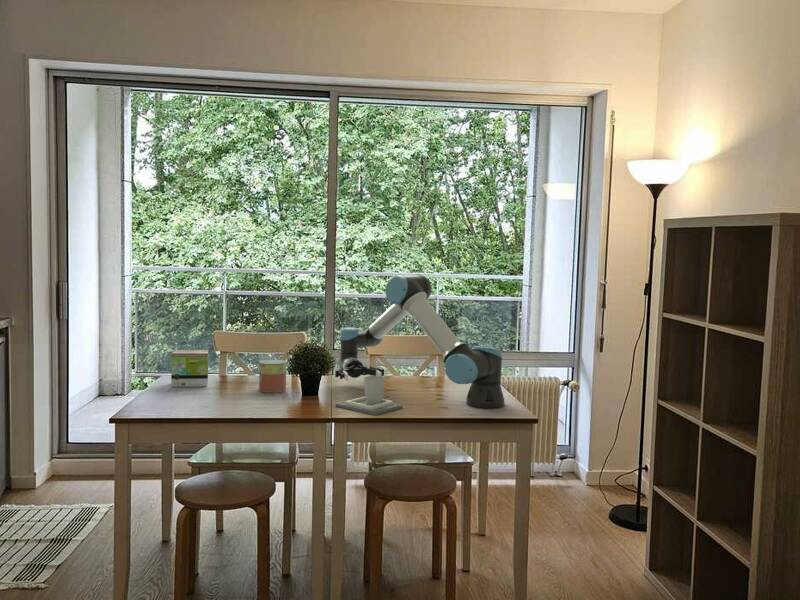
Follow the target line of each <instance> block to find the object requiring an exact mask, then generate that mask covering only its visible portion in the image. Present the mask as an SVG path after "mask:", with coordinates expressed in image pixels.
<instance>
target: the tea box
mask: <svg viewBox="0 0 800 600" xmlns="http://www.w3.org/2000/svg"><path fill="white" fill-rule="evenodd" d="M170 370H171V371H170V372H171V373H170V375H171V376H170V379H171V380H170V381H171V382H170V384H171V385H170V386H171V388H176V387H178V388H182V387H184V388H185V387H188V388H189V387H193V388H195V387H197V388H199V387H200V388H201V387H202V386H207V387H208V381H209V349H173V350H172V353H171V369H170ZM202 388H203V387H202Z"/></svg>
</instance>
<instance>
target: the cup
mask: <svg viewBox="0 0 800 600" xmlns="http://www.w3.org/2000/svg"><path fill="white" fill-rule="evenodd" d="M385 383H386V378H385V377H384V376H382V377H381V376H374V375H366V376H364V377H363V386H364V387H363V389H364V394H365V396H366V400H367V404H369V405H376V404H380V403H381V400H382V399H383V397H384V390H385ZM365 396H364V397H365Z"/></svg>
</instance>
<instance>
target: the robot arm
mask: <svg viewBox="0 0 800 600" xmlns="http://www.w3.org/2000/svg"><path fill="white" fill-rule="evenodd" d="M432 290H433V289H432V282H431V281H430V280H429V279H428V278H427V276H425V275H424V274H419V273H413V274H403V273H402V274H397V275H392V276H391V277H390V278H389V279H388V280H387V282H386V284H385V298H386V299H387V301H388V302H389V303H390V304H391V305H390V306H389V307H388V308H387V310H385V311H384V312H383V313H382V314H381V315H380V316H378V318H376V320H375V321H374V322H372V324H370V326H368V327H367V328H366V329H365V330H359V329H358V328H357V327H349V326H348V327H343V328H341V331H340V357H339V359H338V365H339V368H338V369H336V370H335V371H334V376H335V378H339V380H345V381H346V382H349V377H350V378H351V379H356V378H359V377H361V376H381V377H384V376H385V369H383V368H379V367H375V366H372V365H369V366H368V367H367V366H364V364H363V363H362V362H361V361H360V360H359V358H358V355H359V354H358V353H359V351H358V350H359V349H362V348H370V347H371V348H372V347H376V346H379V345H380V344H381V343H382V341H383V337H385V335H387V333H389V332H390V331H391V330H392V329H393V328H395V326H397V325H398V324H399V323H400V322H401V321H402V320H403V319H404V318H405V317H407V316H408V315H409V314H410V315H411V317H412V318H413V319H414V321H415V322H416V323H417V324H418V326H419V327H420V328H421V330H422V331H423V332H424V333H425V335H426V336H427V337H428V338H429V340H430V341H431V342H432V344H434V346H435V347H436V349H437V350H438V351H439V352H440V353H441V355H442V356H443V358H442V362H443V363H444V368H445V370H444V373H445V375H446V376H447V378H448V379H449V380H450V381H451V382H453V383H454V384H457V385H469V384H470V386H469V389H468V392H467V395H466V398H465V404H466V405H468V406H470V407H473V408H479V409H480V408H481V409H497V408H499V409H500V408H502V407H504V406H505V397H504V393H503V390H502V386H501V385H502V381H501V379H502V364H503V363H502V362H503V361H502V360H503V356H502V350H501V349H500V348H498V347H491V346H483V345H473V346H472V348H471V347H470V346H469V344H468V343H466V342H462V341H460V339H459V338H458V337H457V336H456V335H455V333H454V332H453V331H452V330H451V328H450V327H449V326H448V325H447V324H446V322H445V321H444V320H443V318H442V317H441V316H440V314H438V313H437V311H436V310H435V309H434V307H433V306H432V305H431V304H430V302H429V301H428V299H429V298H430V296H431V294H432Z"/></svg>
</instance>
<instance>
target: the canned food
mask: <svg viewBox="0 0 800 600" xmlns="http://www.w3.org/2000/svg"><path fill="white" fill-rule="evenodd" d="M258 363H259V369H258V371H259V372H258V375H259V376H258V379H259V380H258V382H259V385H258V391H259V392H261V391H262V393H269V392H275V393H281V392H282V391H283V392H285V391H286V390H287V361H286V360H284V359H275V358H274V359H272V358H271V359H262V360H259V362H258Z"/></svg>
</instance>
